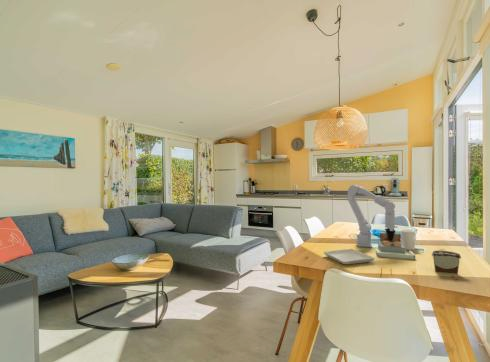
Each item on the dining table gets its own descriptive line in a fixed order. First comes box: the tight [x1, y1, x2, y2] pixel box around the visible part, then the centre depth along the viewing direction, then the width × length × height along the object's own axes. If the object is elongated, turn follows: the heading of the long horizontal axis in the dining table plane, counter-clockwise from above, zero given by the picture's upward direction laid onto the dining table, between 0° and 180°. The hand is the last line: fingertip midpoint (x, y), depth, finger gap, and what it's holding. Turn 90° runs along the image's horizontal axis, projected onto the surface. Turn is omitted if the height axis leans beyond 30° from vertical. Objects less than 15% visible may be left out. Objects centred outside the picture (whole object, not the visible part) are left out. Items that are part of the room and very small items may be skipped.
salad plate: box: [323, 248, 375, 265], centre depth 160 cm, size 21×21×3 cm
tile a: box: [383, 241, 391, 246], centre depth 178 cm, size 4×4×2 cm
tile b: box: [393, 241, 401, 247], centre depth 175 cm, size 4×4×2 cm
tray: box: [375, 247, 416, 261], centre depth 167 cm, size 20×12×2 cm, turn 70°
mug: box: [400, 229, 417, 251], centre depth 186 cm, size 12×8×12 cm
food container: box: [431, 250, 462, 275], centre depth 139 cm, size 12×6×10 cm, turn 71°
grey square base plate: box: [377, 241, 406, 253], centre depth 179 cm, size 14×13×4 cm
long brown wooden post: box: [379, 231, 401, 243], centre depth 183 cm, size 12×3×6 cm, turn 70°
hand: (390, 239), depth 183 cm, fingers closed on long brown wooden post, 3 cm apart
